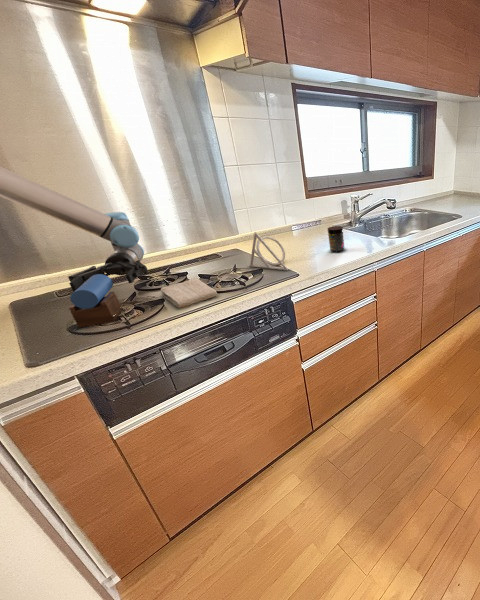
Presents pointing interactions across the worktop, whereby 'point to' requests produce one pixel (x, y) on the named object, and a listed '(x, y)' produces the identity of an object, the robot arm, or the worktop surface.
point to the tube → (91, 291)
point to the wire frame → (269, 251)
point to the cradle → (97, 312)
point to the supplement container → (336, 239)
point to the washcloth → (188, 292)
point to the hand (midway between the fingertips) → (101, 283)
